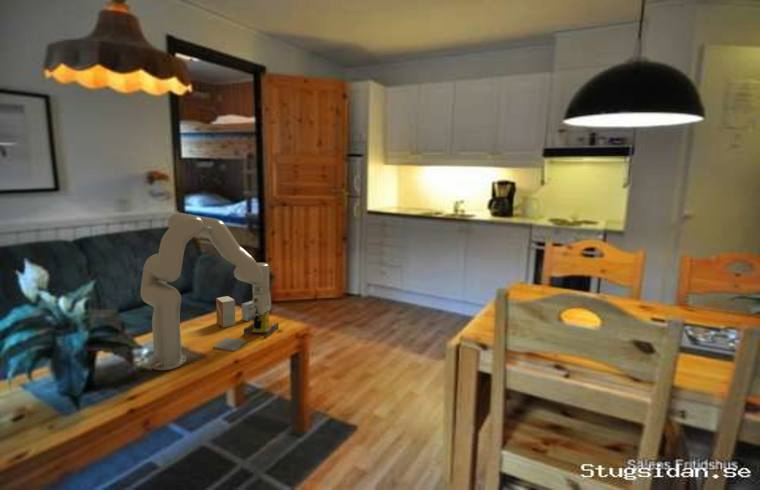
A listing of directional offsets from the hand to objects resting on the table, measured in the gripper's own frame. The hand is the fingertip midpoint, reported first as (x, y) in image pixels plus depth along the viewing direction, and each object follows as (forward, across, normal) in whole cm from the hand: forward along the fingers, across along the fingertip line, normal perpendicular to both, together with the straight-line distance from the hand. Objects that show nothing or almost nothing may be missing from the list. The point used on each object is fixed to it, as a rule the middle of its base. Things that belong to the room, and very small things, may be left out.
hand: (261, 325), depth 196 cm
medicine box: (+3, +14, +14) cm, 20 cm away
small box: (+3, +3, +21) cm, 21 cm away
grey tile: (+3, -18, +5) cm, 19 cm away
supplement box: (+3, 0, 0) cm, 3 cm away
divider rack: (+3, 0, 0) cm, 3 cm away
